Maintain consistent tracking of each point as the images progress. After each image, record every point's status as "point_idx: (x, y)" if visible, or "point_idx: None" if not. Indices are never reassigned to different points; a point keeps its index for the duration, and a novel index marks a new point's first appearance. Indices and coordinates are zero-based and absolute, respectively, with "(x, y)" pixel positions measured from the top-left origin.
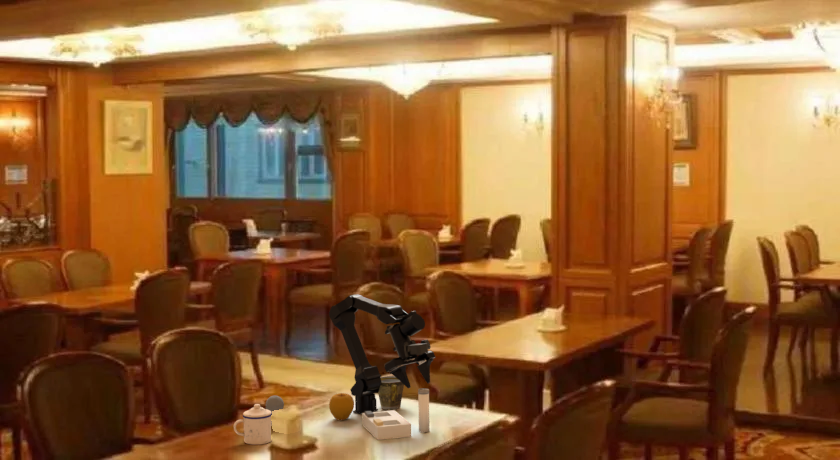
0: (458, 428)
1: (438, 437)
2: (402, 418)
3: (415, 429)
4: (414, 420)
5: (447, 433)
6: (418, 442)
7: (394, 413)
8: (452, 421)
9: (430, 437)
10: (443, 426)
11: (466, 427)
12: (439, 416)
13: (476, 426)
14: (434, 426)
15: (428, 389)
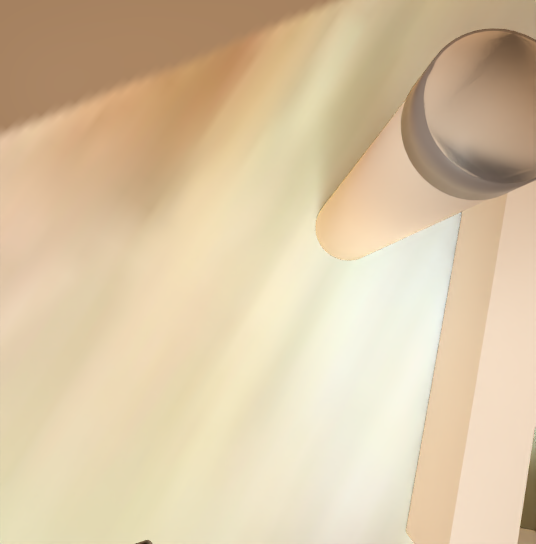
0: (137, 160)
1: (346, 62)
2: (502, 304)
3: (375, 290)
4: (270, 497)
5: (257, 103)
6: None
7: (488, 477)
8: (69, 329)
9: (385, 87)
10: (190, 253)
11: (81, 151)
12: (66, 501)
13: (14, 135)
14: (238, 285)
15: (440, 63)
